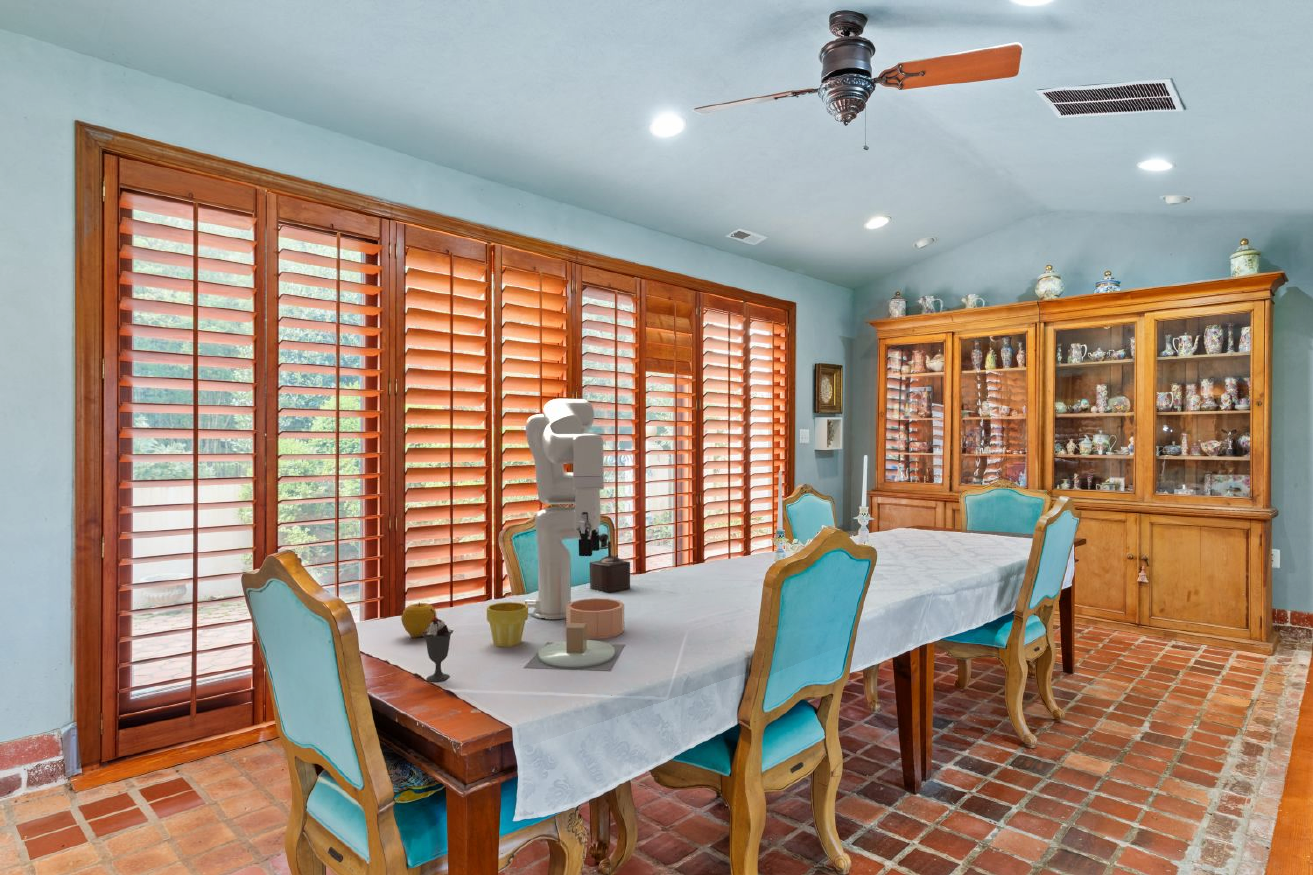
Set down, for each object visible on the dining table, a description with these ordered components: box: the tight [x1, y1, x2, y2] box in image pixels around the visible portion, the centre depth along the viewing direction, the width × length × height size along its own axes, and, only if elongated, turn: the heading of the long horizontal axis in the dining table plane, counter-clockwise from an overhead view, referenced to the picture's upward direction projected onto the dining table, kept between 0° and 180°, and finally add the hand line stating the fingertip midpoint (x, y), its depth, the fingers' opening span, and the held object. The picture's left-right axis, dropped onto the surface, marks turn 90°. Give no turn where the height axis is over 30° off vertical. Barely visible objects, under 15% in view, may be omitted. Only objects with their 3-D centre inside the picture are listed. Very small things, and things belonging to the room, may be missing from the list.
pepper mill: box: [589, 533, 631, 594], centre depth 249 cm, size 16×11×18 cm
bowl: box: [565, 597, 625, 640], centre depth 192 cm, size 15×15×8 cm
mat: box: [523, 641, 626, 672], centre depth 170 cm, size 20×20×1 cm
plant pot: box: [486, 601, 529, 648], centre depth 181 cm, size 10×10×10 cm
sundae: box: [422, 609, 454, 683], centre depth 156 cm, size 7×7×15 cm
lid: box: [537, 623, 615, 668], centre depth 170 cm, size 18×18×7 cm
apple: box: [400, 602, 437, 638], centre depth 189 cm, size 9×9×9 cm
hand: (589, 553), depth 176 cm, fingers open, 9 cm apart
